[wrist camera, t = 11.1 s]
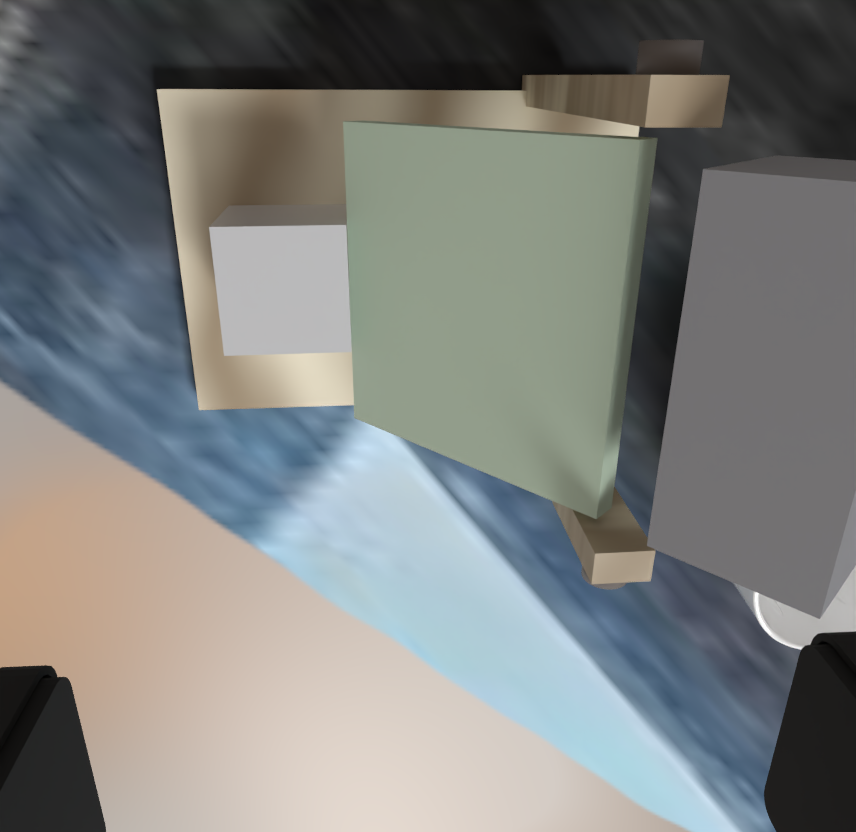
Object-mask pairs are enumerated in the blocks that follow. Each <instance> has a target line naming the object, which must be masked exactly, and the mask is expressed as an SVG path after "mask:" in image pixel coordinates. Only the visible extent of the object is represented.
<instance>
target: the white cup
mask: <svg viewBox="0 0 856 832" xmlns="http://www.w3.org/2000/svg"><path fill="white" fill-rule="evenodd" d="M732 583H733V582H732ZM733 584H734V586H735V587H736V589H737V590H738V592H739V593H740V595H741V596H742V598H743V599H744V601H745V602H746V604H747V605H748V607H749V608H750V610H751V611H752V613H753V614H754V616H755V617H756V619H757V620H758V622H759V623H760V625H761V626H762V628H763V629H764V630H765V631H766V632H767V633H768V634H769V635H770V636H771V637H772V638H774V639H775V640H777V641H778V642H780V643H782V644H784V645H787V646H789V647H792V648H796V649H801V650H802V648H803V647H804V646H805V645H810V644H811V642H812V640H813V638H814V637H815V636H816V635H817V634H819V633H831V632H855V631H856V566H855V567H854V569H853V570H852V572H851V573H850V575H849V576H848V578H847V579H846V581H845V582H844V584H843V585H842V587H841V588H840V590H839V591H838V593H837V594H836V596H835V597H834V599H833V600H832V602H831V603H830V605H829V606H828V608H827V609H826V611H825V612H824V614H823V615H822V617H821V618H820V619H818V618H816V617H813V616H811V615H809V614H806V613H804V612H802V611H799V610H797V609H795V608H792V607H790V606H787V605H785V604H783V603H780V602H778V601H776V600H773V599H771V598H769V597H766V596H764V595H762V594H759V593H757V592H754V591H752V590H750V589H747V588H745V587H743V586H740V585H738V584H736V583H733Z"/></svg>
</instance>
